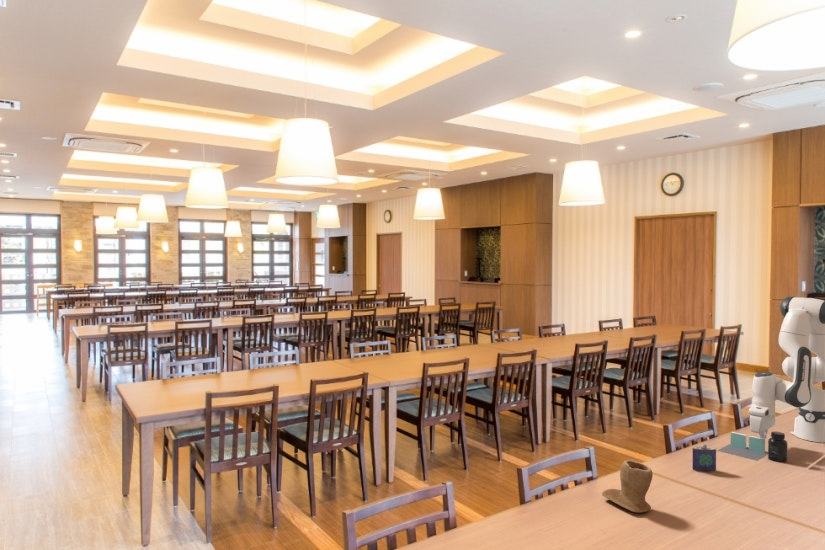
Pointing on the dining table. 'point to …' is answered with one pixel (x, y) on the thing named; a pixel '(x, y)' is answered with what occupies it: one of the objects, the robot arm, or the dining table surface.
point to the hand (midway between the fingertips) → (763, 439)
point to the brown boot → (632, 487)
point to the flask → (704, 458)
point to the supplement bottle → (777, 447)
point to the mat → (743, 452)
